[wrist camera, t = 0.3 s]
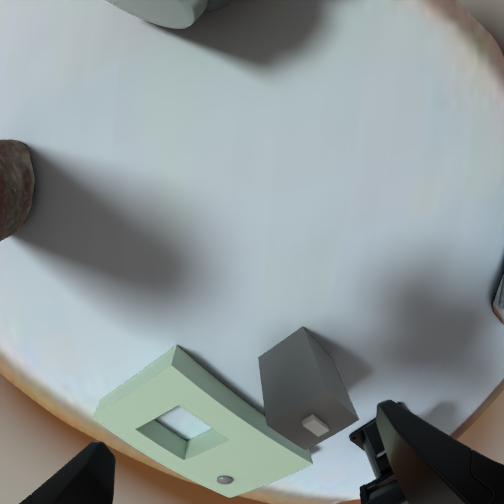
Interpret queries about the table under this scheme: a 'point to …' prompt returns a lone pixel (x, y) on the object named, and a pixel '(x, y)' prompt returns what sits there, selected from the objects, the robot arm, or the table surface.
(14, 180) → the brown cylinder
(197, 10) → the muzzle brake
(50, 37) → the table surface
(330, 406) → the block
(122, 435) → the socket box
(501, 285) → the lucky cat figurine
